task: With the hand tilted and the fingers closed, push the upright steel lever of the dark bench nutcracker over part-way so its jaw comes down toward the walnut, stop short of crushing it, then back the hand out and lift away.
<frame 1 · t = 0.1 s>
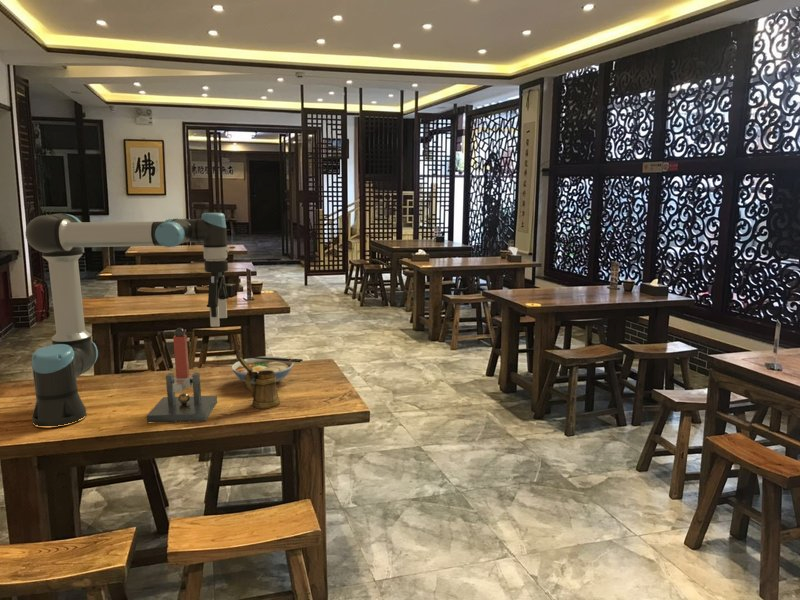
hand: (219, 322, 208), 28 cm above the table, tool pointing down, fingers open, 13 cm apart
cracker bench: (183, 412, 202), on the table
wooden mug: (259, 405, 209), on the table
ramen bowl: (263, 383, 231), on the table
lever: (179, 359, 198), point 18 cm above the table, hinge at 0.0°
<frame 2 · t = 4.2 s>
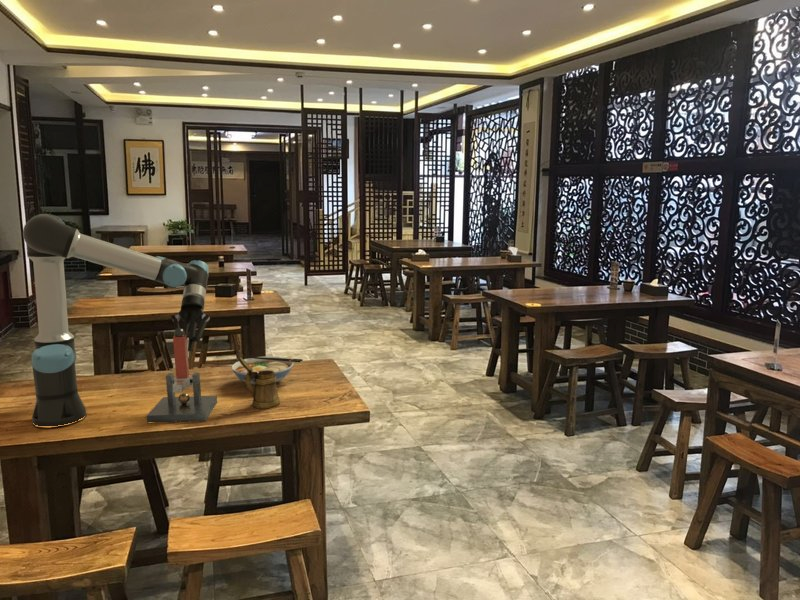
hand: (184, 359, 203), 17 cm above the table, tool tilted 45°, fingers closed
lever: (179, 359, 198), point 18 cm above the table, hinge at 1.2°, touching gripper
everything else where it was.
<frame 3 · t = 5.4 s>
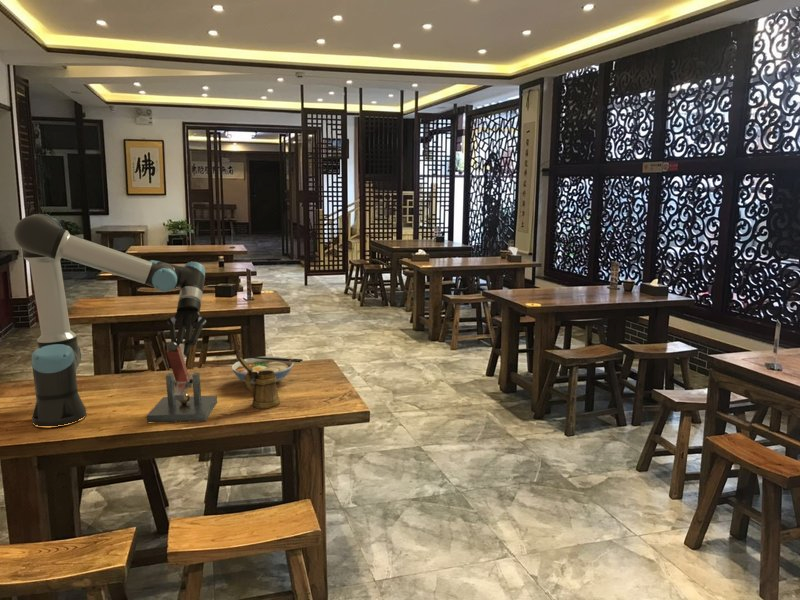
hand: (180, 363, 199), 17 cm above the table, tool tilted 45°, fingers closed
lever: (176, 370, 195), point 16 cm above the table, hinge at 31.3°, touching gripper
everything else where it was.
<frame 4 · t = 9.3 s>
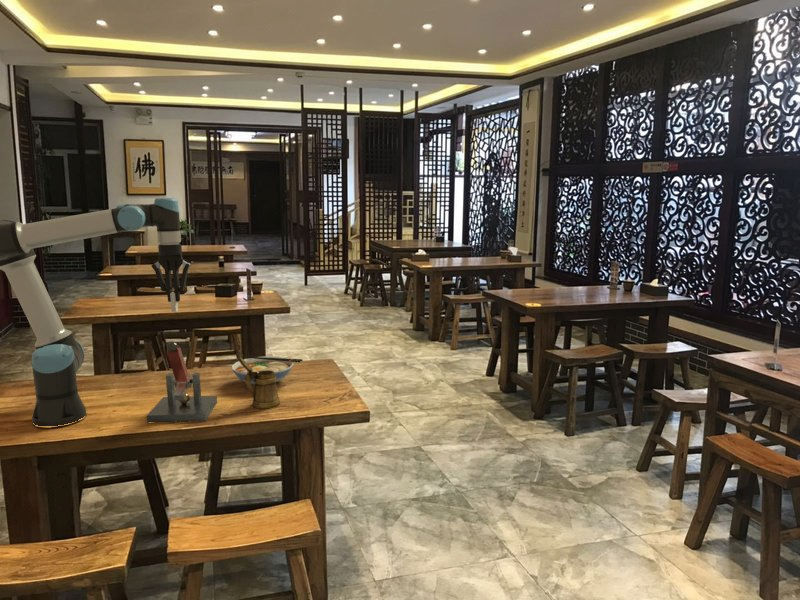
hand: (174, 310, 215), 30 cm above the table, tool pointing down, fingers closed
lever: (176, 370, 195), point 16 cm above the table, hinge at 31.5°
everything else where it was.
at the end: lever at +32° (first picture: +0°); lever touching nothing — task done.
